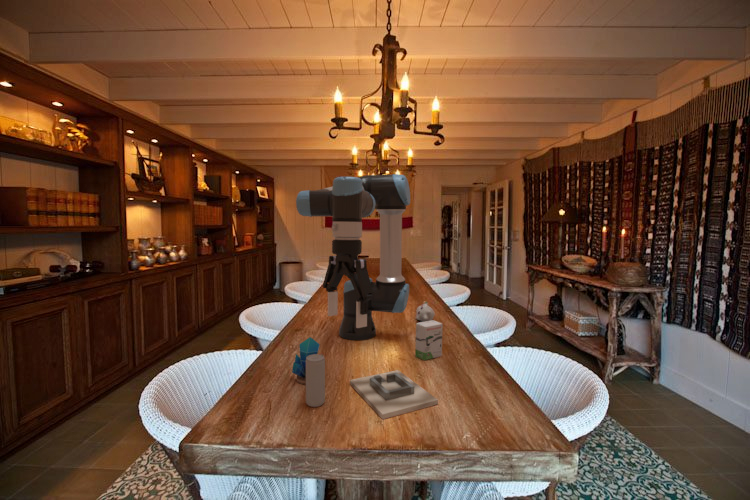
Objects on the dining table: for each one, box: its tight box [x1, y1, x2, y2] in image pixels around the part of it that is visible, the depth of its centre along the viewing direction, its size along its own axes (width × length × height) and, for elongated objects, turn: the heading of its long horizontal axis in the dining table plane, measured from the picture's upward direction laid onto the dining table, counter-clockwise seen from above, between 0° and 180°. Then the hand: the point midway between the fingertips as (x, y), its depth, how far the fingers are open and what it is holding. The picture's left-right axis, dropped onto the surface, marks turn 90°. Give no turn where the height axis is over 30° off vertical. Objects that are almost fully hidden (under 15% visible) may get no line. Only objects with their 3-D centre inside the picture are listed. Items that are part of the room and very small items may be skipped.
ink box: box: [414, 319, 444, 361], centre depth 121 cm, size 9×5×12 cm, turn 124°
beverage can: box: [305, 353, 326, 408], centre depth 89 cm, size 5×5×12 cm
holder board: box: [349, 369, 439, 420], centre depth 94 cm, size 20×16×3 cm
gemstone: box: [291, 336, 321, 386], centre depth 102 cm, size 7×9×12 cm
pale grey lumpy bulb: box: [415, 300, 436, 322], centre depth 165 cm, size 10×8×15 cm
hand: (346, 320), depth 90 cm, fingers open, 13 cm apart
